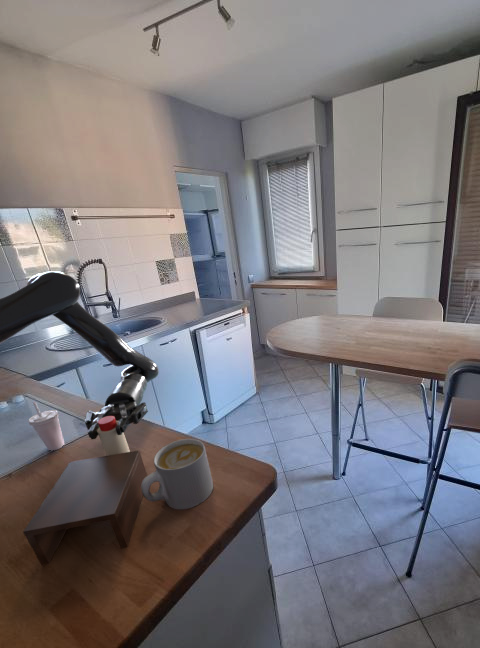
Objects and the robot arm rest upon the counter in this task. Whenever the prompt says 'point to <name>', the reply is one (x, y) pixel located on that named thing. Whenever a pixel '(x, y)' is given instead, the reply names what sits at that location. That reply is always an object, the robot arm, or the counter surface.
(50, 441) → the smoothie
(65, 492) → the shelf
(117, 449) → the spice bottle
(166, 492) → the coffee mug
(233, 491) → the counter surface
